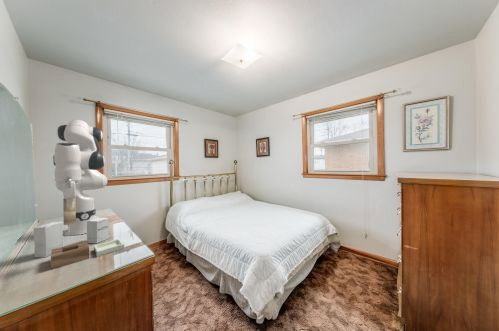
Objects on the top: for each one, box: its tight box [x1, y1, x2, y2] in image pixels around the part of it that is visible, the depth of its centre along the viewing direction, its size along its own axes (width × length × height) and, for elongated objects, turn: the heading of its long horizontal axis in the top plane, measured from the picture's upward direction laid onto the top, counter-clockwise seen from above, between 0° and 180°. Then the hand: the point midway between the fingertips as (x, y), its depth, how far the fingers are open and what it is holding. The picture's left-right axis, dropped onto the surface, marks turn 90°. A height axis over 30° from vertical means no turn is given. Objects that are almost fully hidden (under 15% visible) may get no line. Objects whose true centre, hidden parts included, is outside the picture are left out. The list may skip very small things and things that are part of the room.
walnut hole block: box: [50, 240, 90, 271], centre depth 83 cm, size 12×12×5 cm
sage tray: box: [93, 238, 125, 258], centre depth 92 cm, size 11×11×2 cm
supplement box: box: [86, 217, 110, 244], centre depth 104 cm, size 7×7×13 cm
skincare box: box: [33, 221, 64, 258], centre depth 89 cm, size 8×6×15 cm
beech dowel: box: [62, 198, 76, 226], centre depth 83 cm, size 4×4×12 cm
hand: (69, 206), depth 83 cm, fingers closed on beech dowel, 4 cm apart
